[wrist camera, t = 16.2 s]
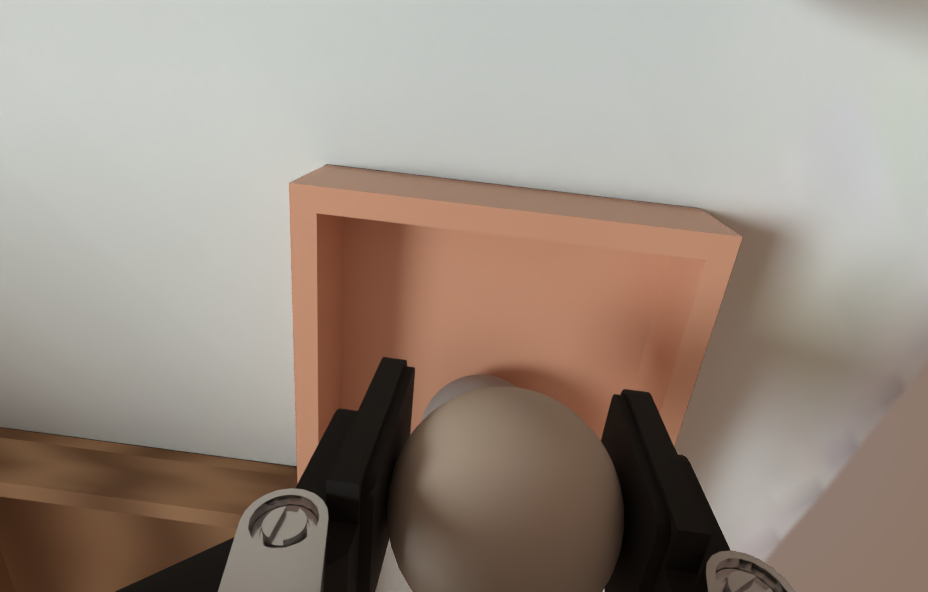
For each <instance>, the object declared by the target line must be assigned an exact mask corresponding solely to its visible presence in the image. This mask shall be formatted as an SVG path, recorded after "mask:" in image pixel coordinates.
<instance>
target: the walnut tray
mask: <svg viewBox="0 0 928 592" xmlns="http://www.w3.org/2000/svg"><path fill="white" fill-rule="evenodd" d="M297 484H298V483H297V467H293V466H285V465H278V464H270V463H263V462H255V461H247V460H240V459H232V458H225V457H217V456H210V455H202V454H195V453H187V452H180V451H172V450H165V449H157V448H150V447H142V446H134V445H127V444H119V443H112V442H104V441H97V440H89V439H82V438H74V437H67V436H59V435H52V434H44V433H37V432H29V431H21V430H14V429H6V428H0V592H115V591H117V590H119V589H122V588H124V587H126V586H128V585H130V584H133V583H135V582H137V581H139V580H141V579H144V578H146V577H148V576H150V575H152V574H155V573H157V572H159V571H161V570H163V569H165V568H168V567H170V566H172V565H174V564H176V563H179V562H181V561H183V560H185V559H187V558H190V557H192V556H194V555H196V554H198V553H201V552H203V551H205V550H207V549H209V548H211V547H214V546H216V545H218V544H220V543H222V542H225V541H227V540H229V539H231V538H233V537H235V534H236V531H237V527H238V524H239V521H240V519H241V517H242V515H243V513H244V511H245V510H246V509H247V508H248V507H249V506H250V505H251V504H252V503H253V502H254V501H256V500H257V499H259V498H261V497H262V496H264V495H266V494H268V493H271V492H274V491H277V490H282V489H290V488H293V489H295V488H296V486H297Z"/></svg>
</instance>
